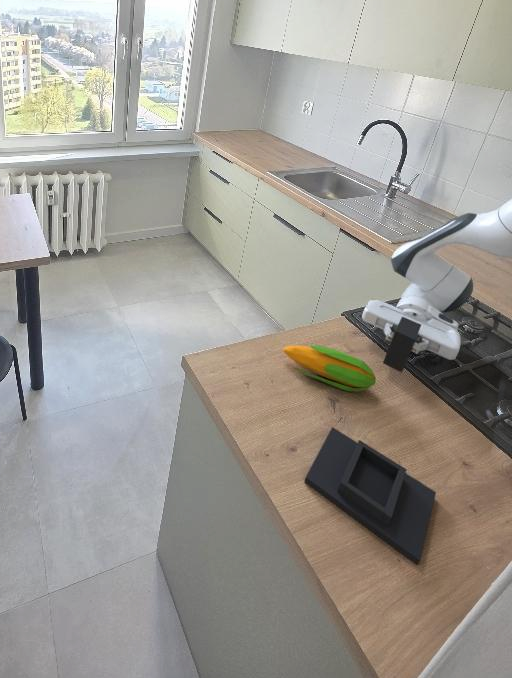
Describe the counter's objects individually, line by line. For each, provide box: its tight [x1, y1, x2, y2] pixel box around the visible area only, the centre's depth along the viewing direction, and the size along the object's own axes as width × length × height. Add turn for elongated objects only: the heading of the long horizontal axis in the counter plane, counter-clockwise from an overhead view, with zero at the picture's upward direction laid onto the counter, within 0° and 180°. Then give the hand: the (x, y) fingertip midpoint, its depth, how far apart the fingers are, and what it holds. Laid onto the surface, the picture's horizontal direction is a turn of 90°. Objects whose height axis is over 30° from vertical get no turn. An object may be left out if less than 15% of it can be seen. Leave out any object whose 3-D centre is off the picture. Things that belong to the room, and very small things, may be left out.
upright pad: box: [382, 317, 421, 373], centre depth 99 cm, size 4×7×10 cm, turn 137°
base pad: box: [303, 426, 437, 566], centre depth 75 cm, size 18×14×4 cm
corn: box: [283, 344, 377, 392], centre depth 97 cm, size 7×8×20 cm
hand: (401, 344), depth 98 cm, fingers closed on upright pad, 4 cm apart
